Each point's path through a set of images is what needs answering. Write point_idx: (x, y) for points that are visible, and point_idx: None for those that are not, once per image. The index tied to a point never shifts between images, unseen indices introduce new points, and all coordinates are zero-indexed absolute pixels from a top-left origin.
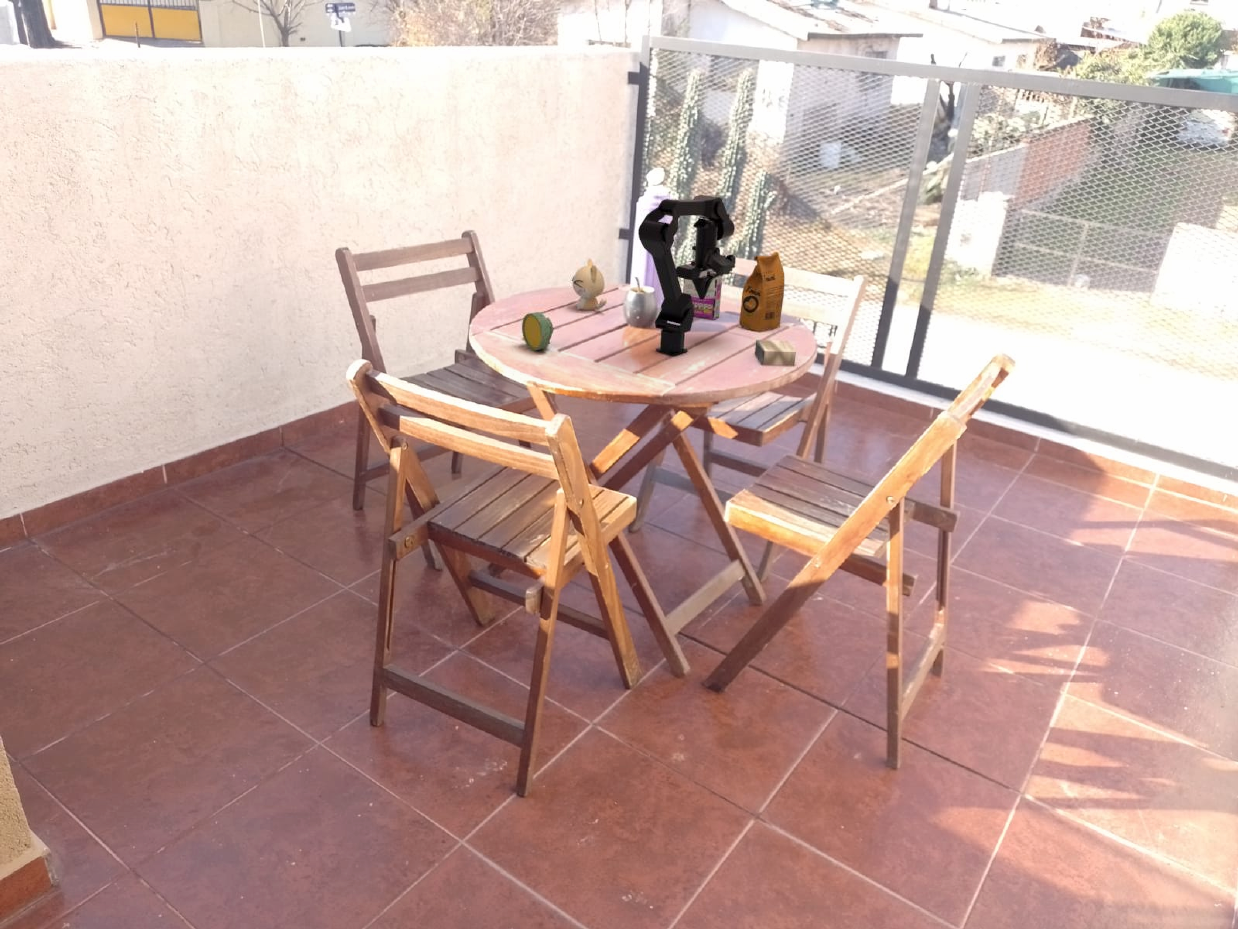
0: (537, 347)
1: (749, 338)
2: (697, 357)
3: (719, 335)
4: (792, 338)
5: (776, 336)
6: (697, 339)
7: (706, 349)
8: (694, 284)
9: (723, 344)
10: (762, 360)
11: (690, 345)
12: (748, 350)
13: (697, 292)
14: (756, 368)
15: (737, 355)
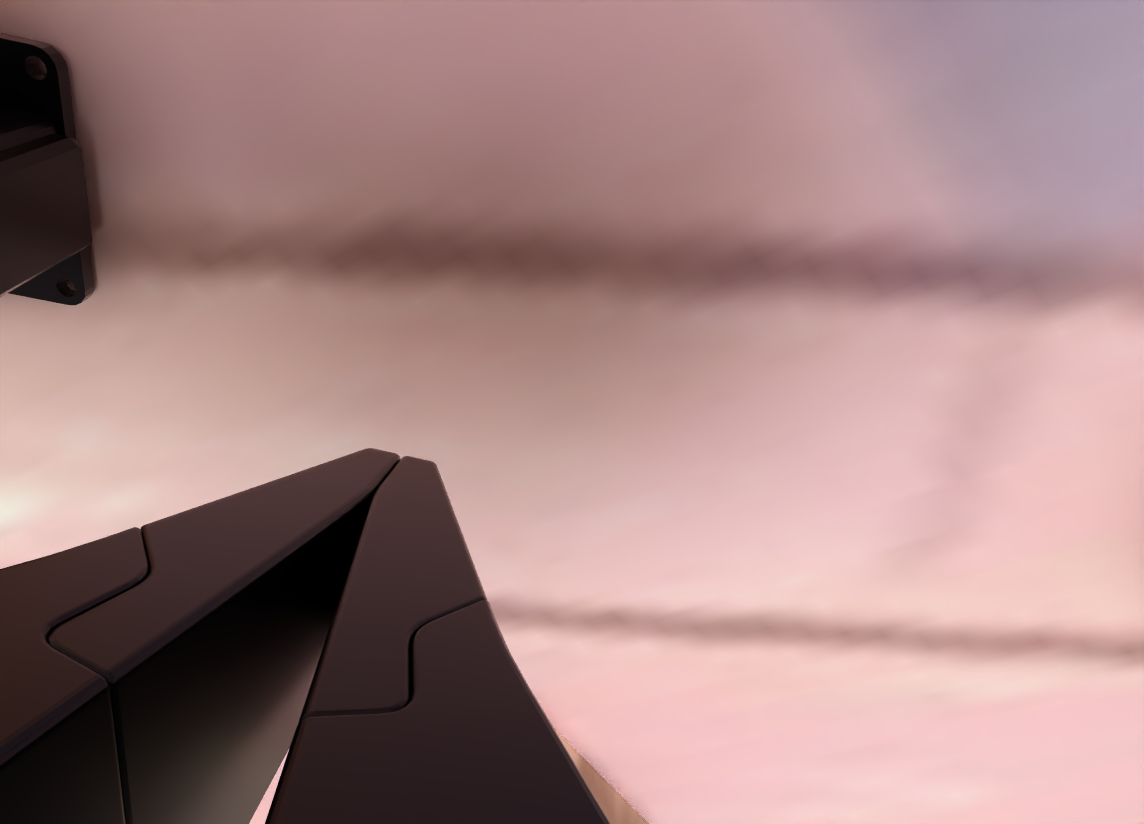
0: None
1: (896, 550)
2: (61, 428)
3: (843, 300)
4: (1071, 769)
5: (1077, 682)
6: (543, 173)
7: (312, 395)
8: (31, 586)
9: (565, 450)
10: None
11: (294, 216)
12: (551, 644)
13: (270, 491)
14: None
15: None
